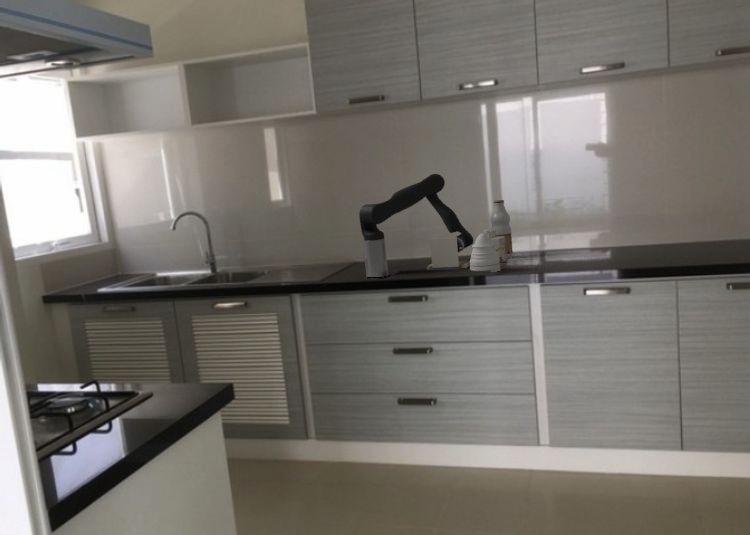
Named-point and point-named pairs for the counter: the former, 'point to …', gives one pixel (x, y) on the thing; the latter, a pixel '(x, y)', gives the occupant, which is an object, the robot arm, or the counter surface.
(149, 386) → the counter surface
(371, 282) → the counter surface
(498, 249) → the ink cartridge box
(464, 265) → the bed
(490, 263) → the honey pot
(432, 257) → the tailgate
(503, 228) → the fruit juice
